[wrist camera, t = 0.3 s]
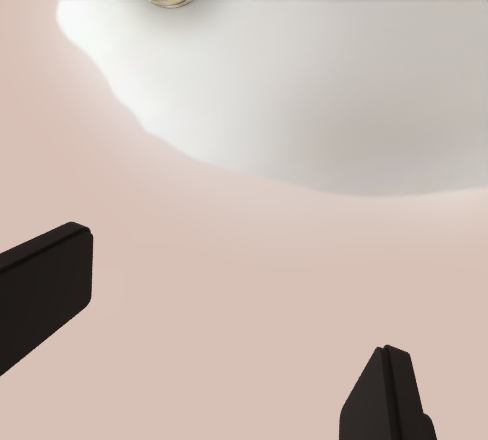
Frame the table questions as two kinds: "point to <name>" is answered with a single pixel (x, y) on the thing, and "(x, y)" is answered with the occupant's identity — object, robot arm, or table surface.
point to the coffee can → (170, 3)
